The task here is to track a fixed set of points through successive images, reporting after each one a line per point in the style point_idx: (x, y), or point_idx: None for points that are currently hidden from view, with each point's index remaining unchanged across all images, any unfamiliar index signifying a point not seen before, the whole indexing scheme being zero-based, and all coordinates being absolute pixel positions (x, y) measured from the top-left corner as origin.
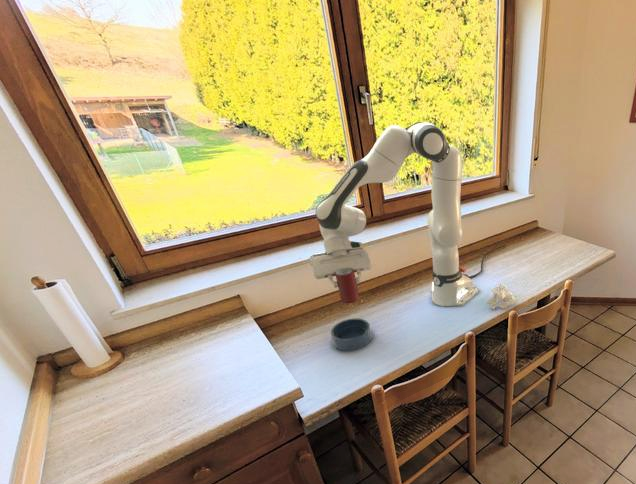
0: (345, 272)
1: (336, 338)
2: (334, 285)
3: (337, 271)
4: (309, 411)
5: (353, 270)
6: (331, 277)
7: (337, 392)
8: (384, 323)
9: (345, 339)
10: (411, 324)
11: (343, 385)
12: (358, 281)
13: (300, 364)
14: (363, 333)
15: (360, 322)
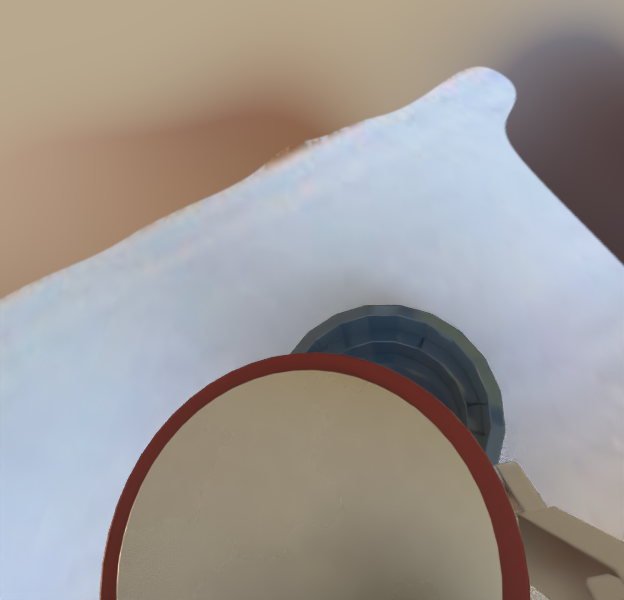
0: (276, 464)
1: (453, 329)
2: (506, 467)
3: (469, 583)
4: (485, 71)
5: (111, 553)
6: (600, 576)
7: (411, 124)
8: None
9: (402, 312)
10: (76, 486)
11: (395, 148)
12: None
13: (610, 286)
14: (309, 344)
15: None
